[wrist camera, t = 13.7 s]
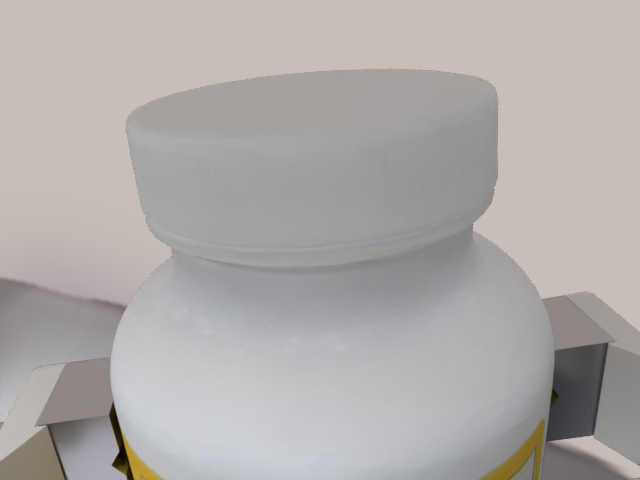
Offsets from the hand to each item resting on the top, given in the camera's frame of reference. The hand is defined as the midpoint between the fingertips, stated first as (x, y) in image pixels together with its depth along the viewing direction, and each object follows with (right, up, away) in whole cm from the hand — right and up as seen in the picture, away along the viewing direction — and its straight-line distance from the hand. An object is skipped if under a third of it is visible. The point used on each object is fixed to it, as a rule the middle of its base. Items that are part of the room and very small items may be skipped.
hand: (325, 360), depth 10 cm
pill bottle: (+1, -7, +2) cm, 7 cm away
